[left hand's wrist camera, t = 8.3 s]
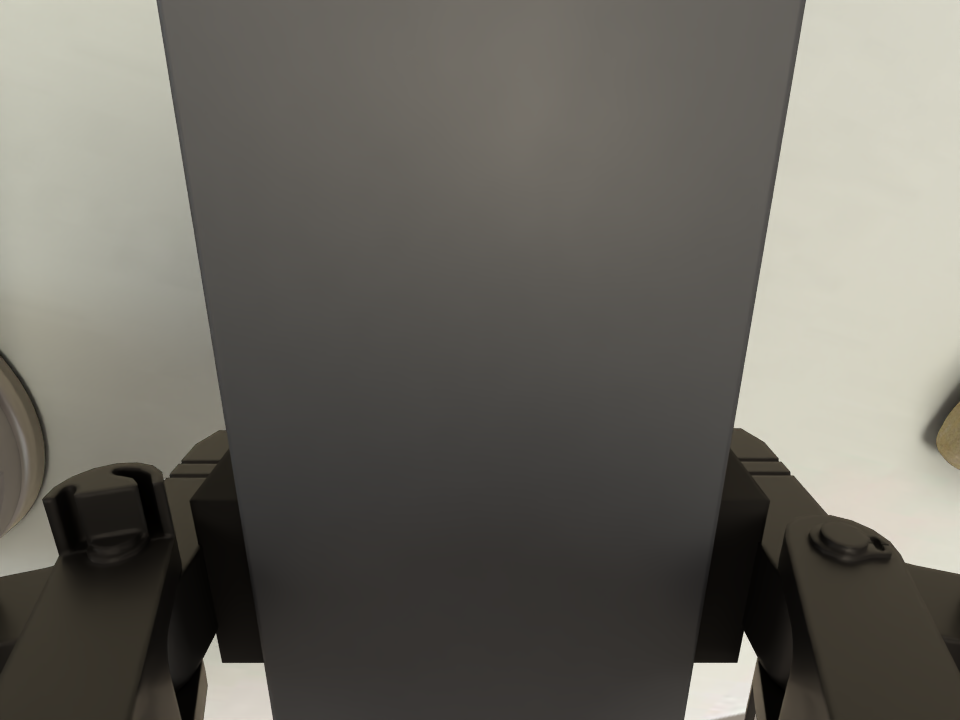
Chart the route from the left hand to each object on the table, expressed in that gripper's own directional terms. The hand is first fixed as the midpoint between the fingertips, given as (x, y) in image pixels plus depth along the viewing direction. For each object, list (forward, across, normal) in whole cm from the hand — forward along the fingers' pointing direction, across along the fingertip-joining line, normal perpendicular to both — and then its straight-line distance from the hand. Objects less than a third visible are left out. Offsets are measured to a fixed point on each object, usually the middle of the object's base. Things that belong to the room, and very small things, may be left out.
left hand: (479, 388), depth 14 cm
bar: (+1, 0, -23) cm, 23 cm away
